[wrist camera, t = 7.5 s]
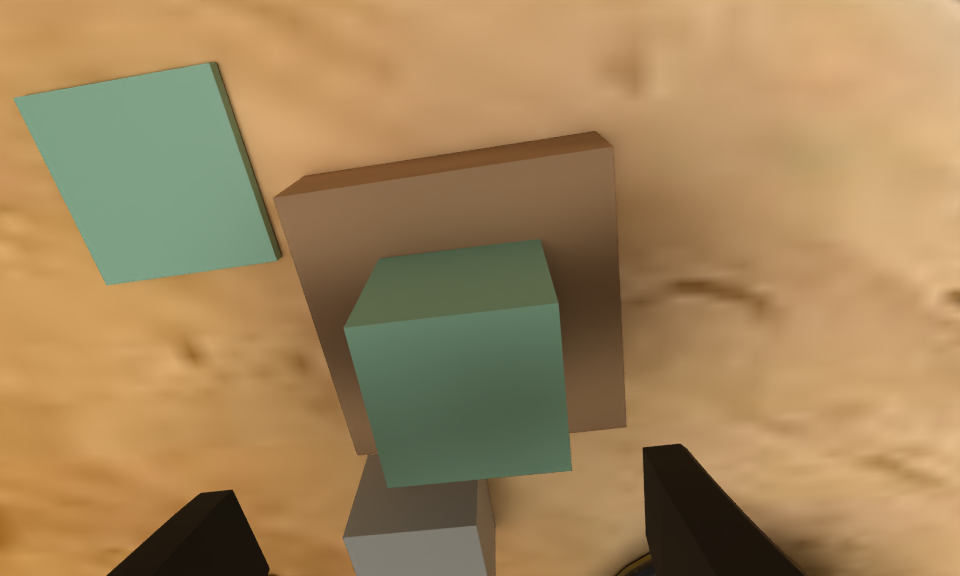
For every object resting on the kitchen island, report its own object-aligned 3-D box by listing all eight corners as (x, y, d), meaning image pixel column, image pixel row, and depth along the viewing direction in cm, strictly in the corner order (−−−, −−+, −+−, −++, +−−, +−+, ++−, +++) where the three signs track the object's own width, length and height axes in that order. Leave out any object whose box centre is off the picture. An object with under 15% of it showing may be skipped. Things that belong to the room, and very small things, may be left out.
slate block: (495, 523, 23) (495, 614, 19) (393, 532, 23) (374, 623, 19) (479, 441, 21) (476, 525, 17) (368, 453, 21) (342, 538, 17)
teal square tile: (281, 256, 17) (276, 260, 17) (114, 280, 18) (106, 285, 18) (216, 62, 15) (208, 62, 15) (23, 96, 15) (13, 97, 15)
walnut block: (608, 374, 20) (626, 427, 17) (375, 400, 20) (357, 455, 18) (592, 128, 16) (613, 146, 13) (308, 172, 17) (273, 197, 14)
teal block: (552, 375, 16) (572, 470, 13) (409, 391, 16) (387, 488, 13) (539, 238, 14) (558, 302, 11) (378, 258, 15) (343, 327, 11)
